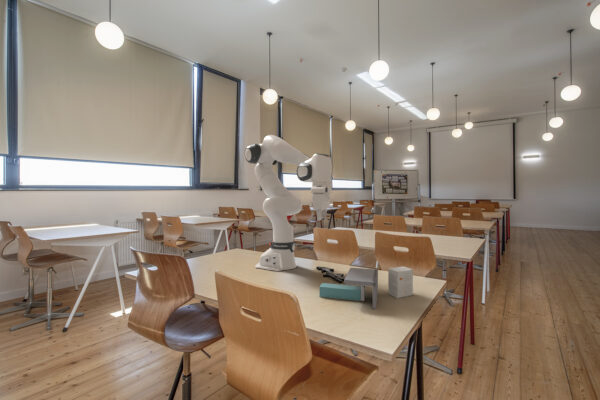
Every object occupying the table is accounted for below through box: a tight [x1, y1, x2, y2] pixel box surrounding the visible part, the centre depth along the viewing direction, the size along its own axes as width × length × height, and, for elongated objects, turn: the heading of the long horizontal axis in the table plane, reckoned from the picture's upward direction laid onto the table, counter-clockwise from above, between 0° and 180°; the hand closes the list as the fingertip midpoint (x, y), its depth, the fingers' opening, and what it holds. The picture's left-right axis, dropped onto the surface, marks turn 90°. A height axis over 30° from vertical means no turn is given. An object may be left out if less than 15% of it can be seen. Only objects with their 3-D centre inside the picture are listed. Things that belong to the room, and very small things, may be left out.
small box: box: [387, 265, 414, 299], centre depth 119 cm, size 8×6×10 cm
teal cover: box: [319, 282, 362, 302], centre depth 117 cm, size 16×5×4 cm, turn 73°
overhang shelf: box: [343, 267, 379, 310], centre depth 115 cm, size 11×18×10 cm, turn 163°
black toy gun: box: [316, 265, 346, 285], centre depth 147 cm, size 27×2×10 cm
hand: (321, 219), depth 136 cm, fingers open, 8 cm apart
